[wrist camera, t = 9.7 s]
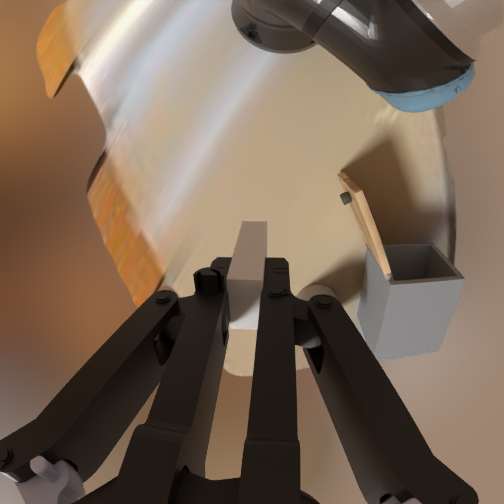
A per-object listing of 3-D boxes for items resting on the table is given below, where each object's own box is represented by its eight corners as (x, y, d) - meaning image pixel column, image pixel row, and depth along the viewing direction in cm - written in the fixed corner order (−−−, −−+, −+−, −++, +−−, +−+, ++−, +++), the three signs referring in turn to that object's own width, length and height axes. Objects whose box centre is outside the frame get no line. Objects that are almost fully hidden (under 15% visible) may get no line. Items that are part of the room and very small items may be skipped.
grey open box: (367, 245, 49) (390, 285, 38) (432, 243, 48) (465, 278, 36) (357, 315, 56) (371, 361, 45) (416, 309, 55) (438, 351, 44)
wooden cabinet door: (360, 250, 49) (378, 284, 39) (329, 178, 44) (345, 198, 34) (372, 244, 48) (393, 277, 39) (343, 171, 43) (362, 189, 33)
